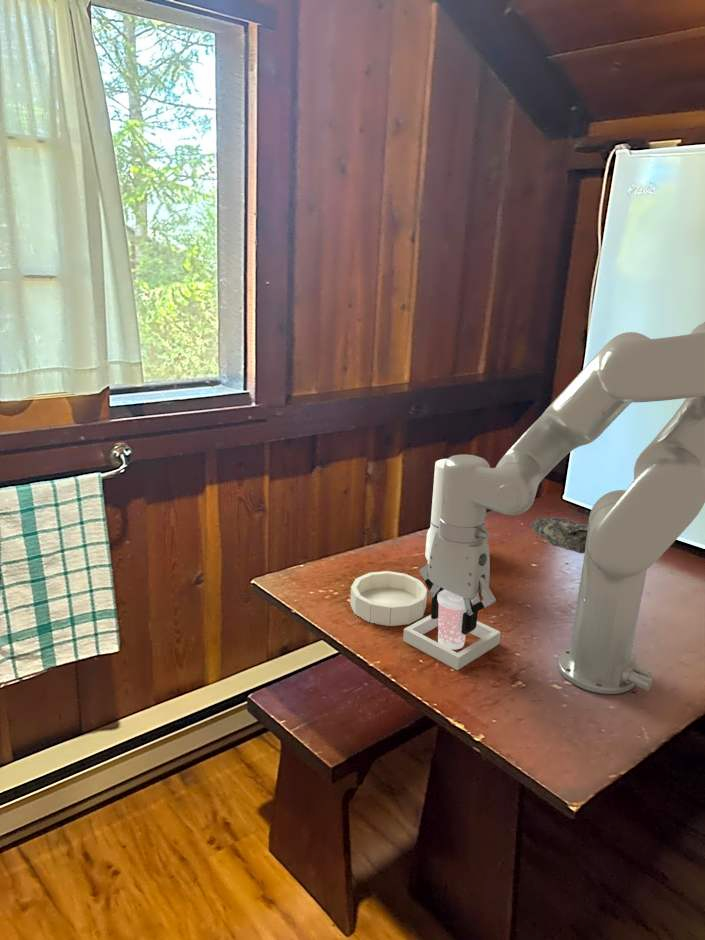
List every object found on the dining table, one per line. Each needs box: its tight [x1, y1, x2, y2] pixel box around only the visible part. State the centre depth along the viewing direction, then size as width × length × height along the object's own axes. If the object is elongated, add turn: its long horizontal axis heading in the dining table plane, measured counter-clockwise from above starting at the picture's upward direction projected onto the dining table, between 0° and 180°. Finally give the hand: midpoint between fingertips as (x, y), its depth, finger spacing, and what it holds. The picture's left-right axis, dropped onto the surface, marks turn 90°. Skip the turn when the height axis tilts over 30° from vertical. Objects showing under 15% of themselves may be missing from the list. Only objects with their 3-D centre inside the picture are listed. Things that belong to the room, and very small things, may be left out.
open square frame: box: [402, 614, 502, 671], centre depth 132 cm, size 12×12×2 cm
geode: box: [529, 516, 588, 554], centre depth 178 cm, size 19×4×15 cm
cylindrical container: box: [427, 458, 448, 564], centre depth 151 cm, size 7×7×25 cm
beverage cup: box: [437, 590, 473, 651], centre depth 130 cm, size 6×6×14 cm
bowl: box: [349, 570, 428, 627], centre depth 143 cm, size 14×14×4 cm
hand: (452, 622), depth 131 cm, fingers closed on beverage cup, 6 cm apart
